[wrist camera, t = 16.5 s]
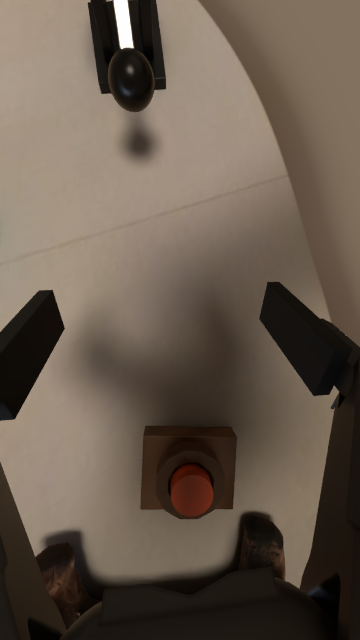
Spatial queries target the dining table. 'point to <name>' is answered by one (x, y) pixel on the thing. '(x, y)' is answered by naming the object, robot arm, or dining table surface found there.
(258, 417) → the dining table surface
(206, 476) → the button
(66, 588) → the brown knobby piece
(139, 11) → the bracket
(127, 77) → the lever
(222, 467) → the button block
